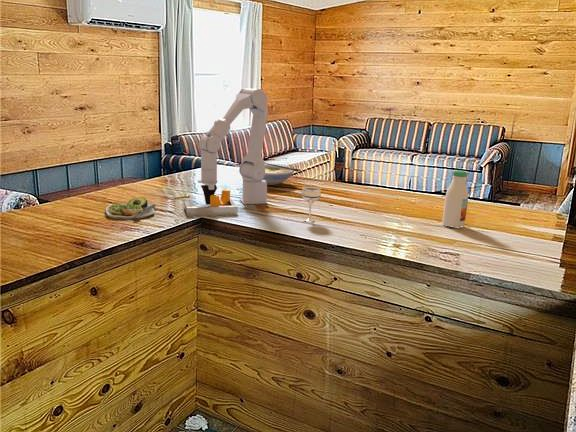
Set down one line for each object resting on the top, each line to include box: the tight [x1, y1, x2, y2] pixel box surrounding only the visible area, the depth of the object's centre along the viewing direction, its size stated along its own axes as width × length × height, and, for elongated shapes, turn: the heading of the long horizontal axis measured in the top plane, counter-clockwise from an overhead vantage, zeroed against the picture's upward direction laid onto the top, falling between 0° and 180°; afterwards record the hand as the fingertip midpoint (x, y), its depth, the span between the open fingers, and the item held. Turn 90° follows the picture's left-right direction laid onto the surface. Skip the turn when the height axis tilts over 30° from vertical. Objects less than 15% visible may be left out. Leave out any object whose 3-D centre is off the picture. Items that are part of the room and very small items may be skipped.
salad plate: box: [105, 196, 157, 221], centre depth 185 cm, size 19×18×5 cm
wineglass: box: [301, 185, 322, 221], centre depth 186 cm, size 7×7×12 cm
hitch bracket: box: [183, 199, 239, 217], centre depth 193 cm, size 18×12×3 cm, turn 106°
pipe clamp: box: [209, 189, 231, 206], centre depth 196 cm, size 12×4×6 cm, turn 162°
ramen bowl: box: [262, 162, 302, 186], centre depth 243 cm, size 25×23×8 cm
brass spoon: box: [173, 194, 191, 200], centre depth 212 cm, size 6×2×1 cm, turn 126°
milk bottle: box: [442, 169, 469, 227], centre depth 186 cm, size 8×8×20 cm
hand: (208, 204), depth 197 cm, fingers closed
